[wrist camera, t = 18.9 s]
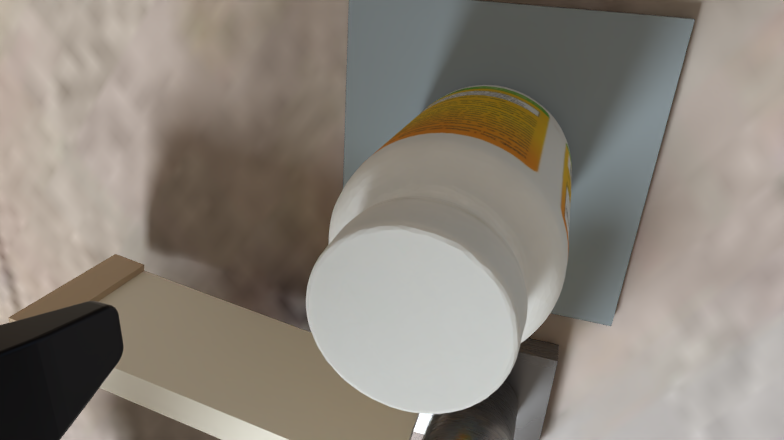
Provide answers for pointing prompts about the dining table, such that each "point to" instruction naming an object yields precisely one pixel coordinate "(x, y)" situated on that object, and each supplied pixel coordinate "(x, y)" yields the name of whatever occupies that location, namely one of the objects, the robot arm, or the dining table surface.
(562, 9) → the doorway mat
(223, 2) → the dining table surface
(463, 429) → the gate posts
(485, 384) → the supplement bottle
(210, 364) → the gate
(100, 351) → the robot arm
